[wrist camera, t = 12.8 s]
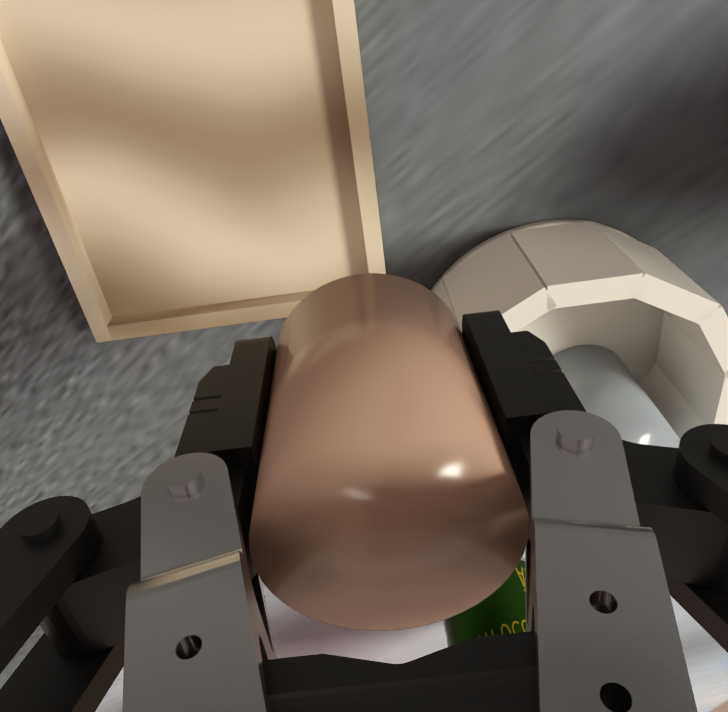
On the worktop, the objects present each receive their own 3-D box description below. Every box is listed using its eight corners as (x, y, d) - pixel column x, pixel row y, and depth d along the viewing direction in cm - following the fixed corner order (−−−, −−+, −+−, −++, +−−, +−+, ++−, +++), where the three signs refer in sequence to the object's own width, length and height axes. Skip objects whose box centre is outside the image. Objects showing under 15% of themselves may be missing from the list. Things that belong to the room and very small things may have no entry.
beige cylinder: (258, 286, 12) (219, 454, 8) (461, 261, 12) (534, 418, 8) (293, 443, 14) (278, 643, 10) (466, 422, 14) (525, 615, 10)
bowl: (397, 240, 22) (412, 304, 18) (694, 199, 22) (780, 254, 18) (420, 459, 28) (435, 545, 24) (655, 429, 28) (713, 512, 24)
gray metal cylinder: (530, 351, 24) (571, 431, 20) (630, 337, 24) (692, 415, 20) (529, 428, 27) (565, 514, 22) (621, 416, 26) (675, 500, 22)
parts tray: (-80, -127, 16) (-108, -133, 15) (330, -193, 16) (329, -203, 15) (106, 326, 24) (96, 342, 23) (386, 289, 23) (389, 303, 22)
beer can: (466, 619, 35) (520, 885, 25) (418, 570, 32) (457, 844, 22) (552, 583, 33) (646, 850, 23) (509, 529, 31) (595, 801, 21)
